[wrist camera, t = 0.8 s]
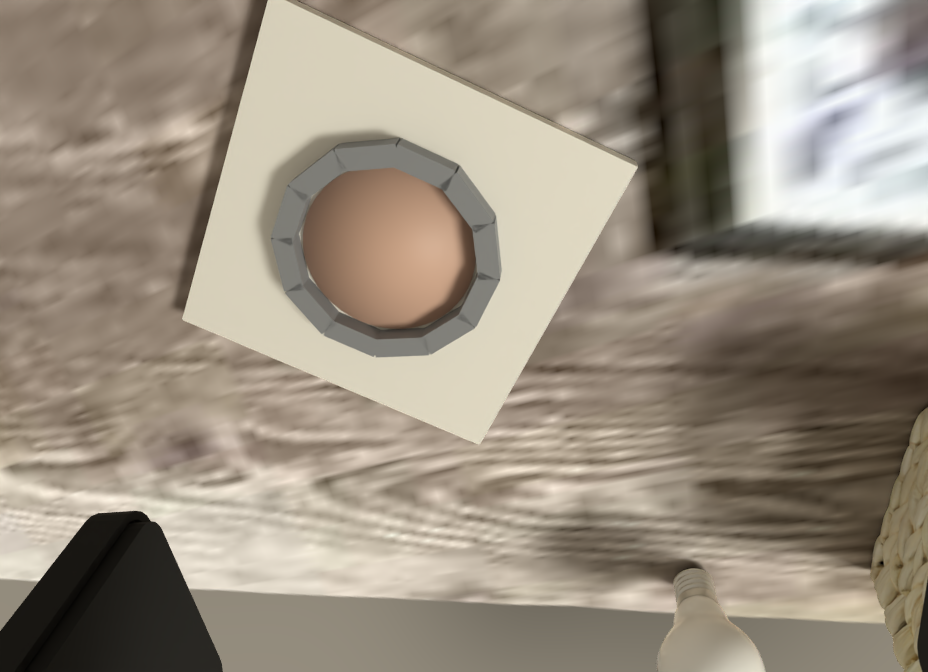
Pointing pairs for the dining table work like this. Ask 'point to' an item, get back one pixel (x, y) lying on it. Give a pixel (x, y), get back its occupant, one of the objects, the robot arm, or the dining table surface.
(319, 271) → the seat board
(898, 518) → the storage basket
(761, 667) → the lightbulb
